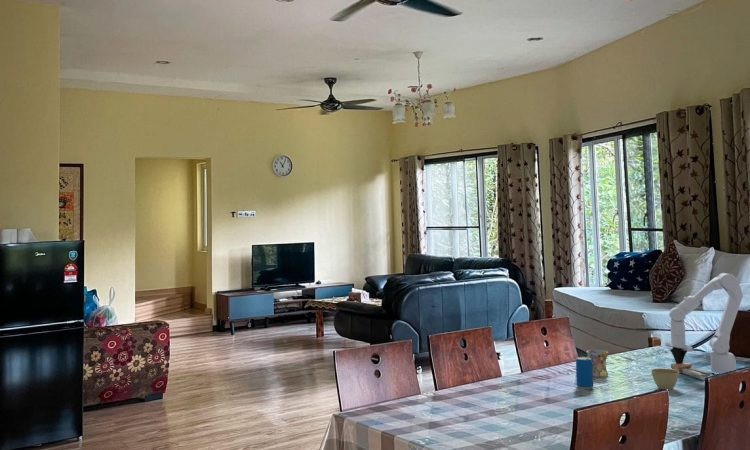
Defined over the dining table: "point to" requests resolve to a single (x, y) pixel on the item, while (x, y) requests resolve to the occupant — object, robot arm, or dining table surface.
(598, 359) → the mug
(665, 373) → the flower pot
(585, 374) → the beverage can
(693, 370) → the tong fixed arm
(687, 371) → the tong jaw
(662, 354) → the dining table surface
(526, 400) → the dining table surface
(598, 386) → the dining table surface
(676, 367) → the sleeve
